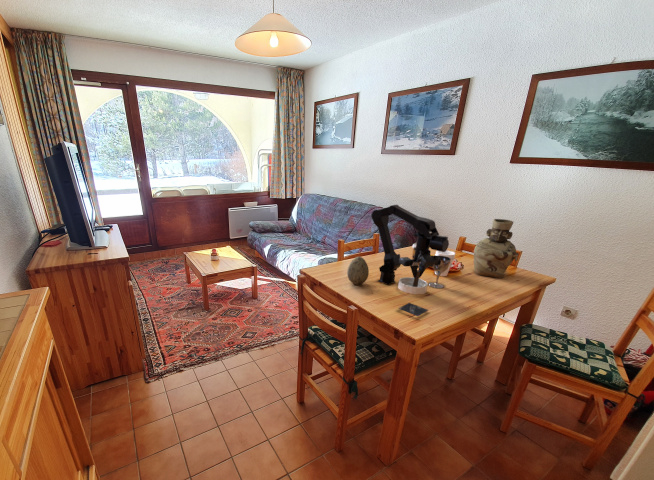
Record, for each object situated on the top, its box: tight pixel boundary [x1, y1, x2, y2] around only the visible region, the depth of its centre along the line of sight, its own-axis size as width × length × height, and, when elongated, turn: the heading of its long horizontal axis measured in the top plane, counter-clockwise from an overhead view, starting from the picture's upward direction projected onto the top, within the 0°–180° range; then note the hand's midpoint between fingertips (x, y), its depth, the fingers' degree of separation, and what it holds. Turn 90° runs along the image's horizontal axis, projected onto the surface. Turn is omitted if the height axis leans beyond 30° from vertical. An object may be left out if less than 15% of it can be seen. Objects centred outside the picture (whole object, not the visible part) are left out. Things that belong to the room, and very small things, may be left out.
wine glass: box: [428, 256, 451, 289], centre depth 158 cm, size 8×8×15 cm
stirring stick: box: [412, 269, 421, 287], centre depth 152 cm, size 4×4×10 cm
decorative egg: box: [346, 256, 370, 286], centre depth 160 cm, size 11×11×15 cm
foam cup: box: [434, 249, 456, 277], centre depth 173 cm, size 10×9×13 cm
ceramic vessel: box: [473, 218, 520, 279], centre depth 171 cm, size 19×21×30 cm
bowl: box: [397, 276, 429, 295], centre depth 153 cm, size 13×13×5 cm
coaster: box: [398, 302, 429, 317], centre depth 134 cm, size 9×9×2 cm
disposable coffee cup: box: [411, 242, 419, 266], centre depth 190 cm, size 10×10×12 cm
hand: (416, 277), depth 151 cm, fingers closed on stirring stick, 2 cm apart
